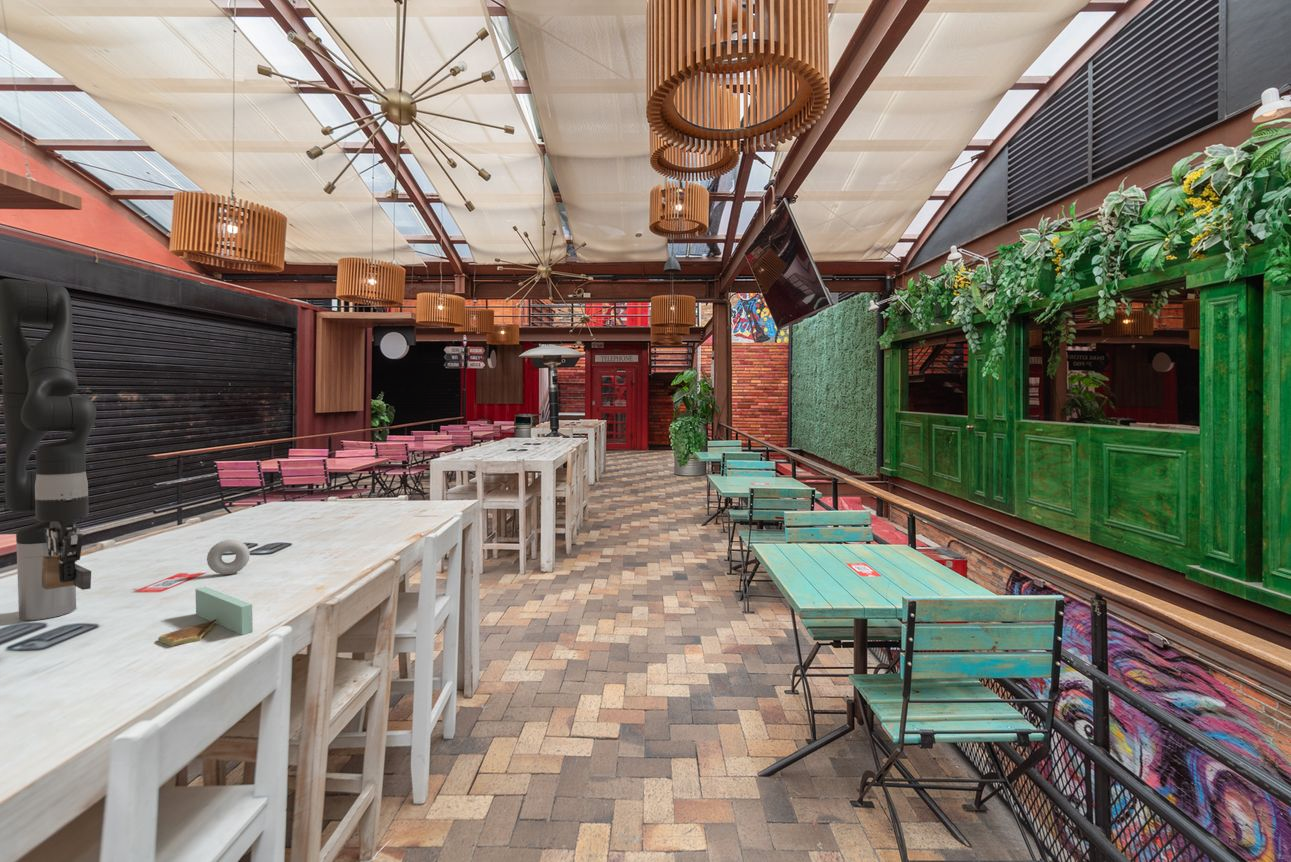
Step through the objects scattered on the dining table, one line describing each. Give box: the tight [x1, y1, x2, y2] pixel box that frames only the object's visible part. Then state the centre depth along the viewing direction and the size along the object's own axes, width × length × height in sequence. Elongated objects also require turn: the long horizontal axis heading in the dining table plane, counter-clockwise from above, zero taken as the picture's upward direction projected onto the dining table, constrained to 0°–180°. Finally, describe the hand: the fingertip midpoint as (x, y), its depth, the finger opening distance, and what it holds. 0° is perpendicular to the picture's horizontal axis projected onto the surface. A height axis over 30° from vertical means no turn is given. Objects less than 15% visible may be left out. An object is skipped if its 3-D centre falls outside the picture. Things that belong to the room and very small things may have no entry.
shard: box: [157, 619, 216, 647], centre depth 121 cm, size 11×8×2 cm
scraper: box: [42, 554, 92, 591], centre depth 116 cm, size 13×5×6 cm, turn 59°
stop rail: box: [195, 586, 254, 636], centre depth 128 cm, size 22×2×6 cm, turn 59°
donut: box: [206, 539, 251, 575], centre depth 165 cm, size 10×4×10 cm, turn 125°
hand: (64, 579), depth 117 cm, fingers closed on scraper, 3 cm apart
